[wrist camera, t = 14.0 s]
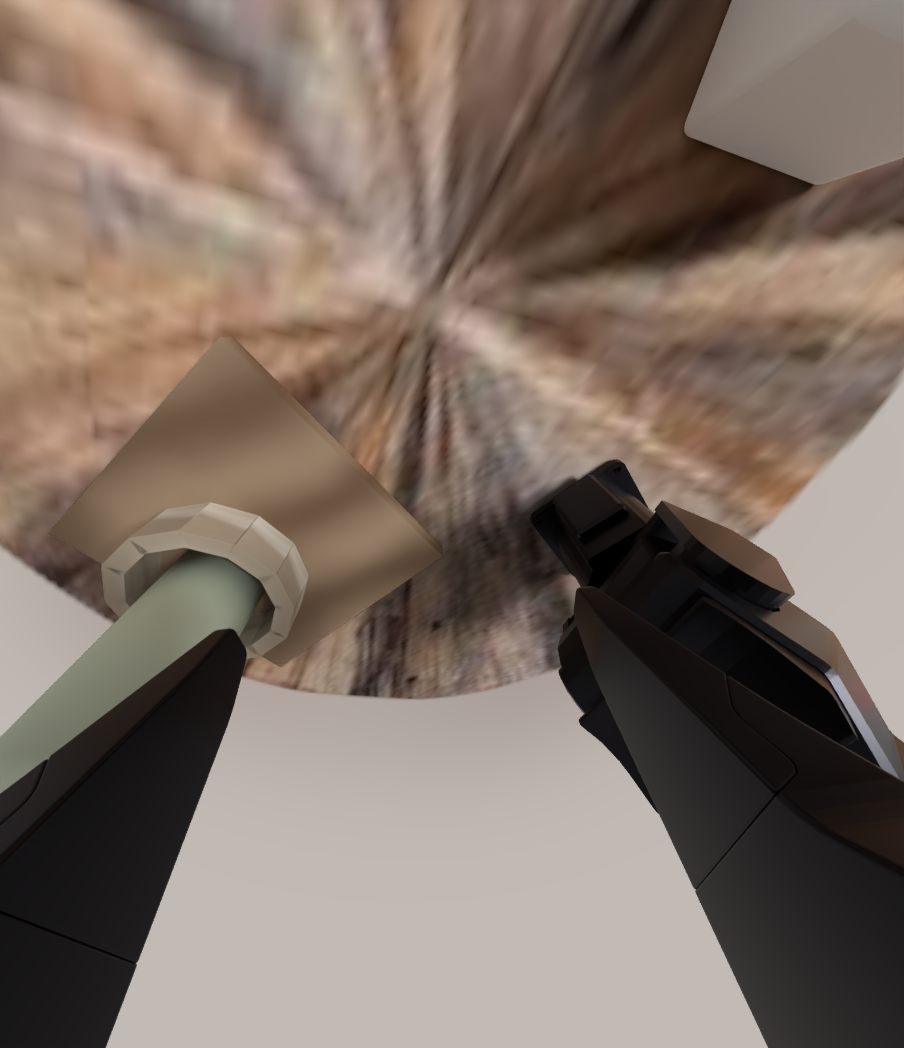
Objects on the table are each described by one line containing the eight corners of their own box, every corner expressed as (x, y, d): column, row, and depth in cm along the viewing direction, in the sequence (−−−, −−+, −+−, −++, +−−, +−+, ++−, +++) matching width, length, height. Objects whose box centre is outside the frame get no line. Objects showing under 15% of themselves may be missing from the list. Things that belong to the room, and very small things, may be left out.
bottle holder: (441, 545, 24) (444, 586, 20) (285, 654, 28) (265, 704, 25) (232, 335, 17) (179, 341, 13) (66, 522, 21) (-7, 565, 17)
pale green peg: (273, 549, 22) (138, 761, 11) (266, 607, 24) (149, 827, 14) (183, 529, 21) (-58, 744, 10) (185, 592, 23) (-10, 819, 13)
